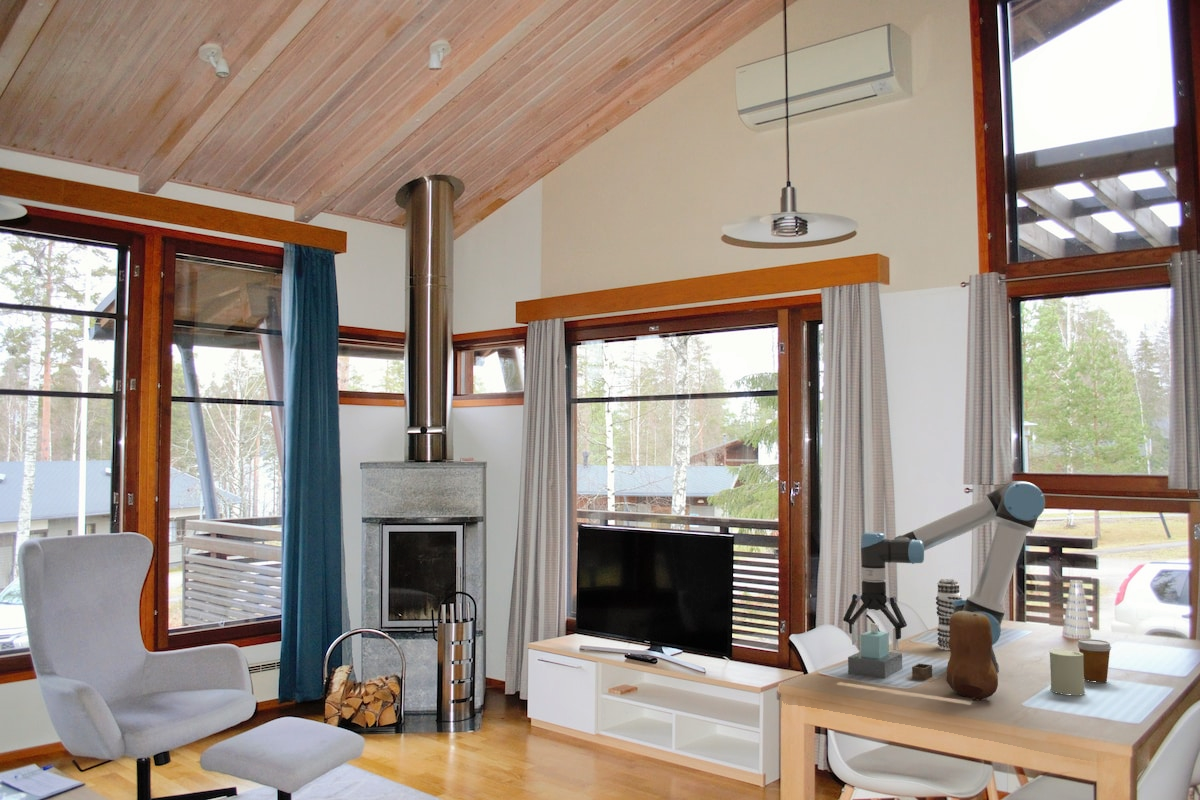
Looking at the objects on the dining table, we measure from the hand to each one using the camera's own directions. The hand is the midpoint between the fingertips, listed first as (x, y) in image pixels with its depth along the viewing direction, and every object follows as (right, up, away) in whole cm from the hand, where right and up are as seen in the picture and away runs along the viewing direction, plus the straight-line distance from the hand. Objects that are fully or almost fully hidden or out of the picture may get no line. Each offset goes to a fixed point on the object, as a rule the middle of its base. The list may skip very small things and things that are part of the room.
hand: (875, 646), depth 298 cm
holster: (+12, -8, -10) cm, 17 cm away
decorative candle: (+40, -12, +40) cm, 57 cm away
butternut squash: (+19, -7, -31) cm, 37 cm away
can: (+50, -7, -24) cm, 56 cm away
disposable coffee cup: (+66, -8, -10) cm, 68 cm away
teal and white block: (0, -7, 0) cm, 7 cm away
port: (0, -9, -1) cm, 9 cm away
